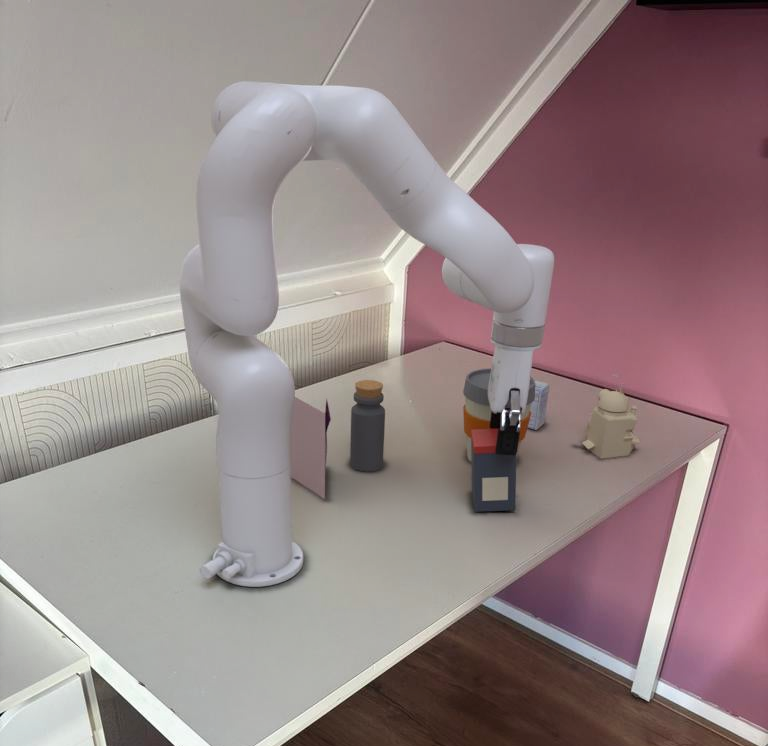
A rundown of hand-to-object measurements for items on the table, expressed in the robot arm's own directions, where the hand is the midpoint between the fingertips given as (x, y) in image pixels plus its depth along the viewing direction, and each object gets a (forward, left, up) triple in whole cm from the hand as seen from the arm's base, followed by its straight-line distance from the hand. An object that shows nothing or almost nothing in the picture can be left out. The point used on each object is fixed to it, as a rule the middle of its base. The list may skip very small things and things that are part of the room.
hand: (502, 441), depth 126 cm
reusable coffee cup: (+16, +8, -12) cm, 22 cm away
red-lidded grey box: (-2, +4, -5) cm, 7 cm away
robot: (+33, -8, -12) cm, 36 cm away
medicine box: (+35, +10, -12) cm, 39 cm away
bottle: (0, +25, -12) cm, 28 cm away
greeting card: (-12, +29, -12) cm, 33 cm away
